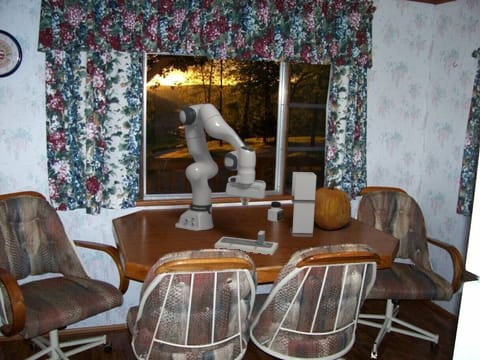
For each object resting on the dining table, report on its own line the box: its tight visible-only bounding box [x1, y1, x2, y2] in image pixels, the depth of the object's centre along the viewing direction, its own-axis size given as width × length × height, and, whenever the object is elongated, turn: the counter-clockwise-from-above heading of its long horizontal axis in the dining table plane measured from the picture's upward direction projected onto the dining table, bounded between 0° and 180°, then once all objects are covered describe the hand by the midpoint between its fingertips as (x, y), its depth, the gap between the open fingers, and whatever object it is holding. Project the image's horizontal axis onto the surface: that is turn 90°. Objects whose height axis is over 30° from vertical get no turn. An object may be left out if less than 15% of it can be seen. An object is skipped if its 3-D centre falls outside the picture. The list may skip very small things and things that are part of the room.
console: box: [214, 236, 279, 256], centre depth 231 cm, size 30×14×3 cm, turn 74°
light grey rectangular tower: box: [289, 171, 317, 238], centre depth 256 cm, size 11×11×35 cm
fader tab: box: [257, 230, 266, 245], centre depth 229 cm, size 4×5×7 cm
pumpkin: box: [314, 178, 352, 231], centre depth 271 cm, size 26×23×30 cm
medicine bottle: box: [267, 200, 284, 223], centre depth 286 cm, size 7×7×12 cm
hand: (244, 205), depth 230 cm, fingers closed
